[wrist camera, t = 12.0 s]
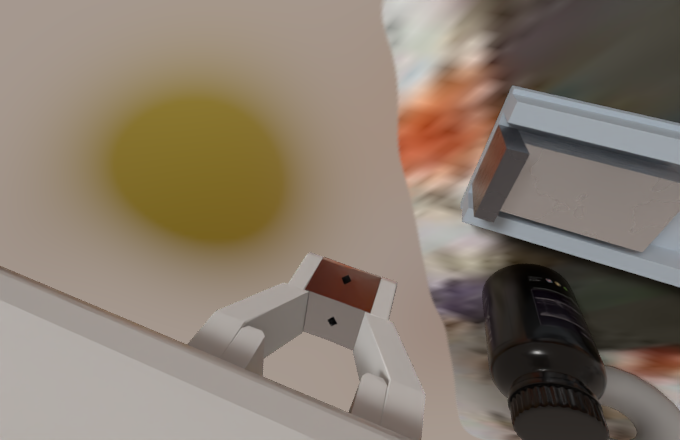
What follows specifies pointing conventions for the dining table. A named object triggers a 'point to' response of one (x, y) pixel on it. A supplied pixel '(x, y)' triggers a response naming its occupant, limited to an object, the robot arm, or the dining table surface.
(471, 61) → the dining table surface
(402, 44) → the dining table surface
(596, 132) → the channel
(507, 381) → the supplement bottle
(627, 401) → the donut
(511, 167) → the grey block
